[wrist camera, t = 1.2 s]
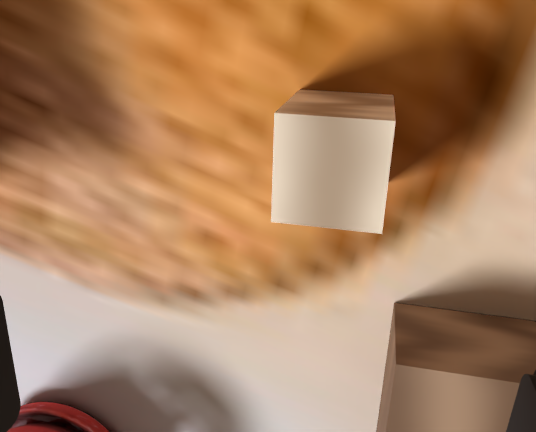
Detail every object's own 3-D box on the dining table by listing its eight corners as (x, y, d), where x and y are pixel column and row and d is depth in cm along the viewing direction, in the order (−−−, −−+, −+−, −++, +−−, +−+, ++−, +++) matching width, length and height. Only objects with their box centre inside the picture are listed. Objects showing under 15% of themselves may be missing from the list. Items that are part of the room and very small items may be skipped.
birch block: (393, 94, 27) (395, 120, 21) (383, 184, 29) (382, 233, 23) (299, 89, 28) (274, 112, 22) (295, 176, 30) (271, 221, 24)
